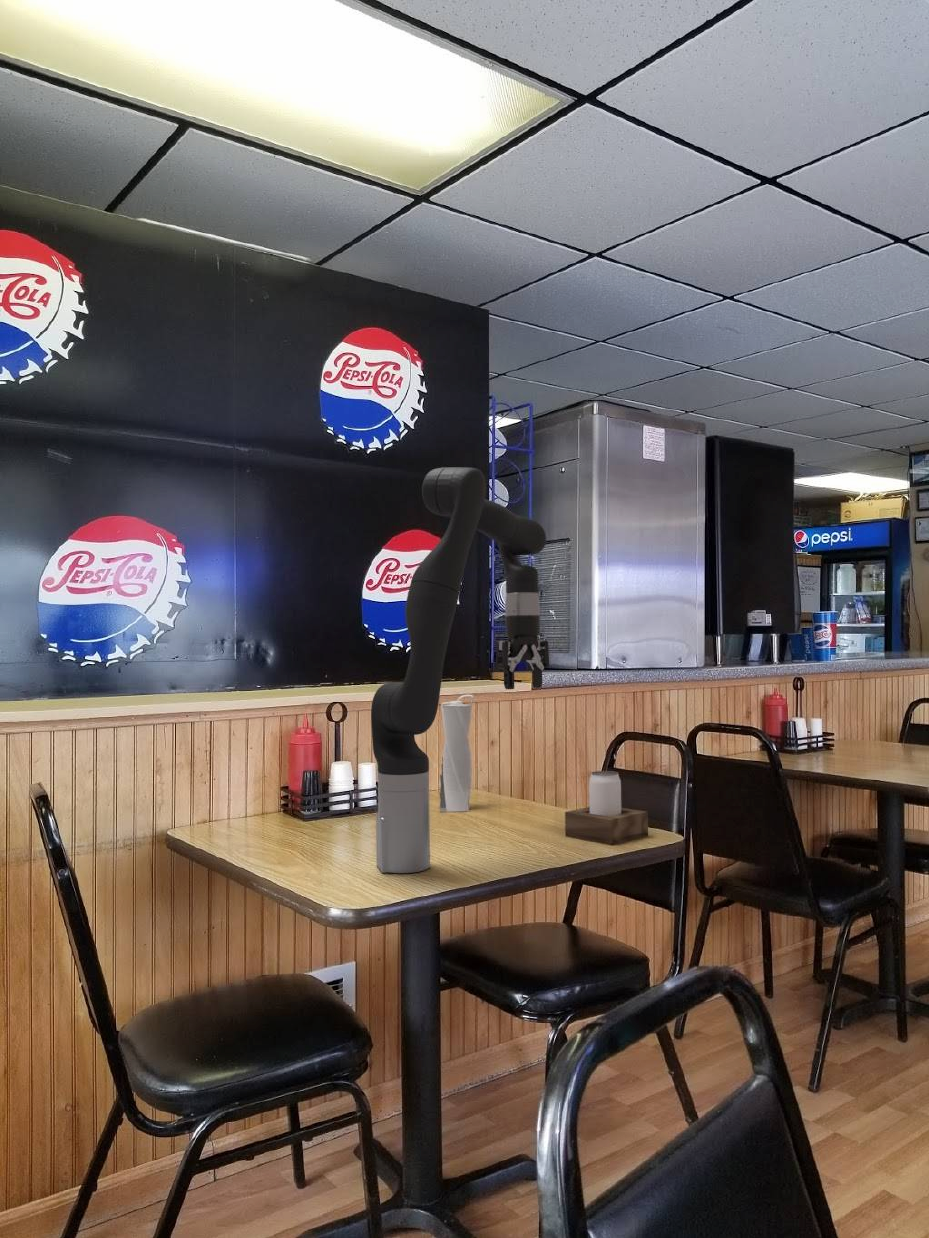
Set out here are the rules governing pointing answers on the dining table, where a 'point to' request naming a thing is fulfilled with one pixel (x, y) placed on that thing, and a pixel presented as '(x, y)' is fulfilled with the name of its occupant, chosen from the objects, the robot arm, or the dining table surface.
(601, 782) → the can
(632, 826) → the box
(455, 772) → the grey water bottle
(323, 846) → the dining table surface
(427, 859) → the robot arm
